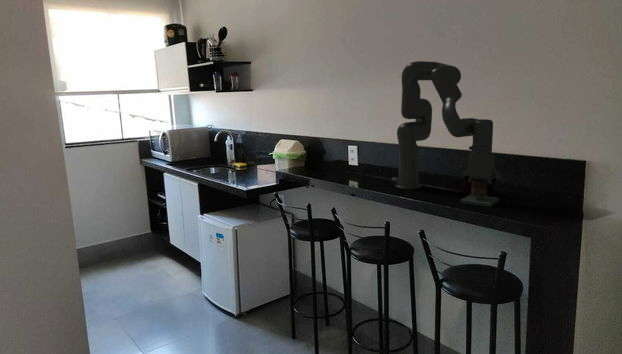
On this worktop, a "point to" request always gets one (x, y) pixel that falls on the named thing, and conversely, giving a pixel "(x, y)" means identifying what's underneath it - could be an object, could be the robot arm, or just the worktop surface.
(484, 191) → the collar
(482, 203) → the post block
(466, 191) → the mug
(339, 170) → the worktop surface
